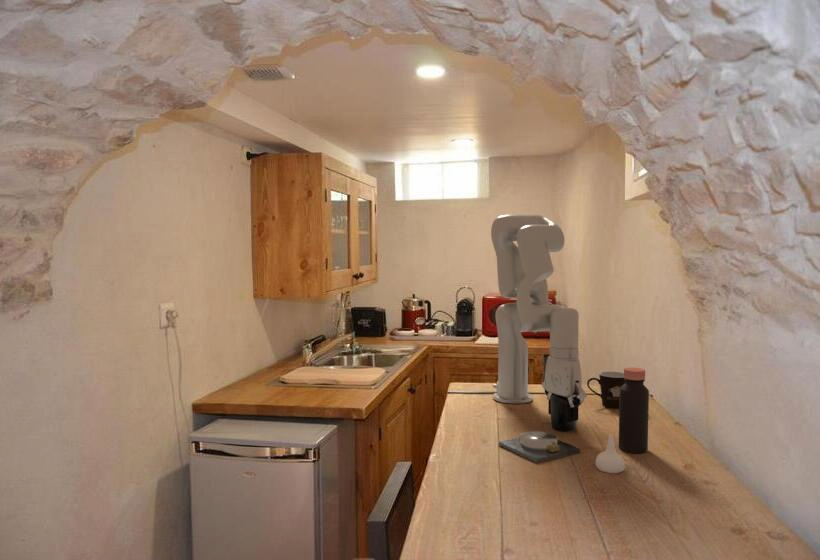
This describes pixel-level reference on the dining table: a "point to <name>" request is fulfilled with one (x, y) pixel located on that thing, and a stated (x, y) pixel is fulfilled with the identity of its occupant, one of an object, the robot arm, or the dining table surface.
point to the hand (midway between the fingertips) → (563, 416)
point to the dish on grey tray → (539, 446)
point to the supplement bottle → (561, 414)
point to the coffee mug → (609, 388)
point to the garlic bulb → (610, 459)
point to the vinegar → (633, 412)
